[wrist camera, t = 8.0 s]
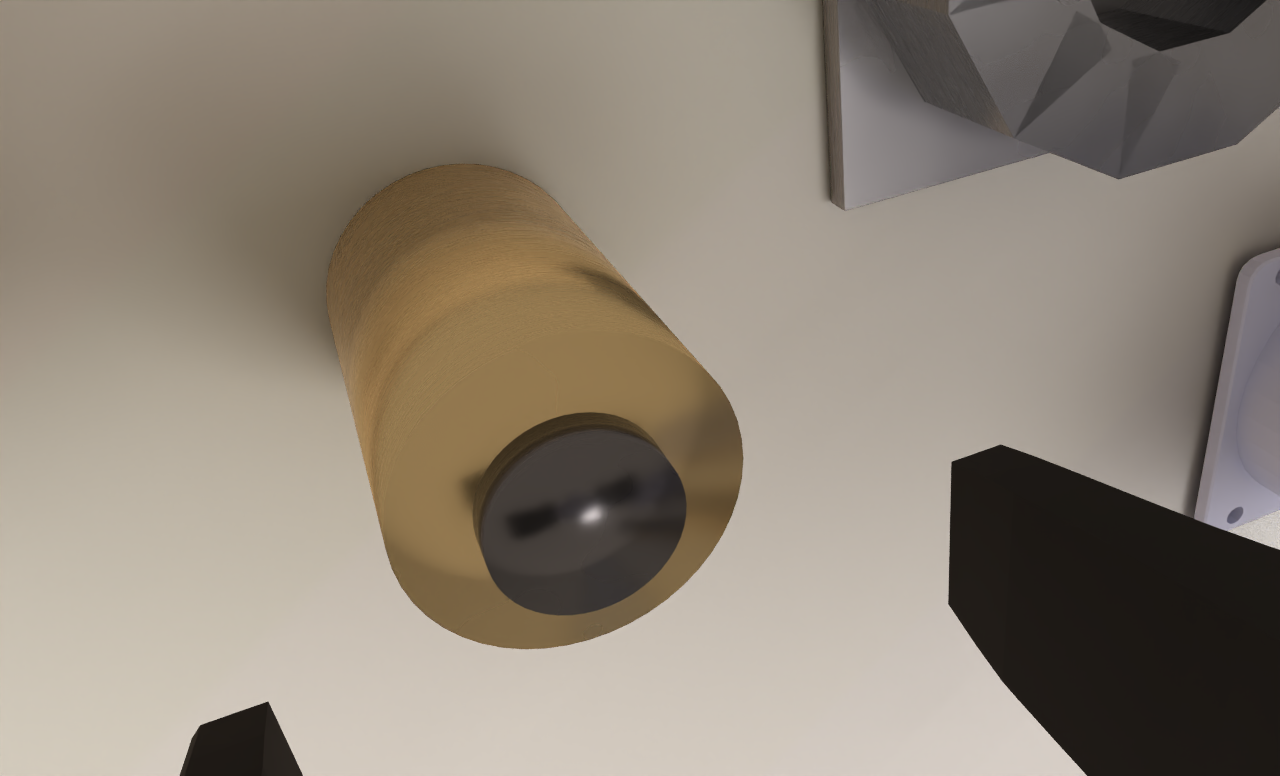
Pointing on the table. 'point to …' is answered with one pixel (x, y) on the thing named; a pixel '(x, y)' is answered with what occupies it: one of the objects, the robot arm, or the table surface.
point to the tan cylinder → (522, 414)
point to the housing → (1038, 85)
